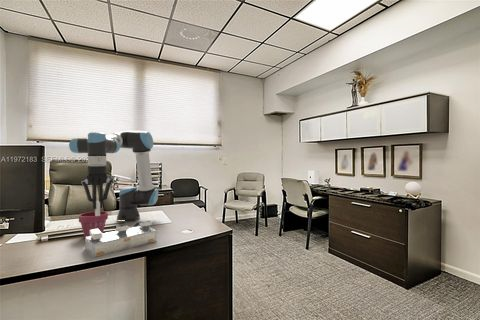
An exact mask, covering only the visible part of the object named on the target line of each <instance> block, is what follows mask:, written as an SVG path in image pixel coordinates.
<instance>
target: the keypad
mask: <svg viewBox="0 0 480 320" xmlns="http://www.w3.org/2000/svg"><path fill="white" fill-rule="evenodd" d="M143 222H144V221H136V222H135V223H133V224H132V225H131V226H130V227H129V228H132V227H137V226H140V225H139V223H143ZM149 227H152V225H149Z"/></svg>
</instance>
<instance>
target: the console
mask: <svg viewBox="0 0 480 320" xmlns="http://www.w3.org/2000/svg"><path fill="white" fill-rule="evenodd" d="M84 238H85V239H84V241H85V242H84V244H85V245H84V247H85V250H86V252H87V253H88V254H89V256H90V257H91V258H96V257H97V258H98V257H100V256H104V255H108V253H109V254H112V252H113V253H115V252H120V251H124V250H129V249H131V248H134V247H135V248H136V247H140V246H143V245H147V244H151V243H155V242H157V229H156V228H153V227H152V226H150V227H149V225H148V226H142V227H140V226H137V227H132V228H130V227H129V230H124V231H117V232H116V230H113V231H107V232H103V233H102V238H99V239H95V240H93V238H92V237H91V236H87V237H84Z"/></svg>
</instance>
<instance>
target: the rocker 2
mask: <svg viewBox="0 0 480 320" xmlns="http://www.w3.org/2000/svg"><path fill="white" fill-rule="evenodd" d="M129 228H130V227H129V225H128V224H126V225H121V226H119V227H116V228H115V231H116V232H117V231H124V230H129Z"/></svg>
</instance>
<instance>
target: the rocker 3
mask: <svg viewBox="0 0 480 320" xmlns="http://www.w3.org/2000/svg"><path fill="white" fill-rule="evenodd" d="M142 222H143V223H139V225H140V227H142V226H148V225H151V226H152V225H153V224H152V223H153V222H152V220H148V221H142Z"/></svg>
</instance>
